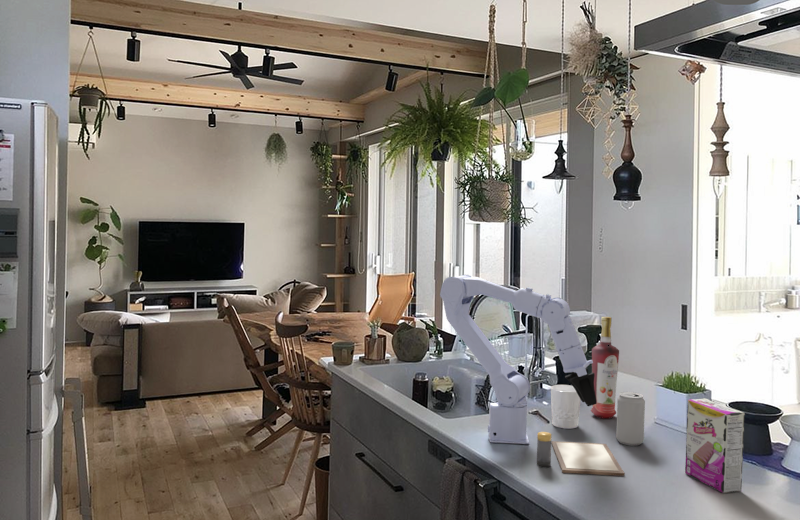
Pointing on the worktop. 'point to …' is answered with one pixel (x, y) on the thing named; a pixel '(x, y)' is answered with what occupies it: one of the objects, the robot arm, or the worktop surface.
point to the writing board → (586, 458)
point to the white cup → (564, 406)
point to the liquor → (605, 373)
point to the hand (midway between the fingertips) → (589, 402)
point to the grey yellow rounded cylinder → (544, 449)
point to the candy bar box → (715, 444)
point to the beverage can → (630, 418)
